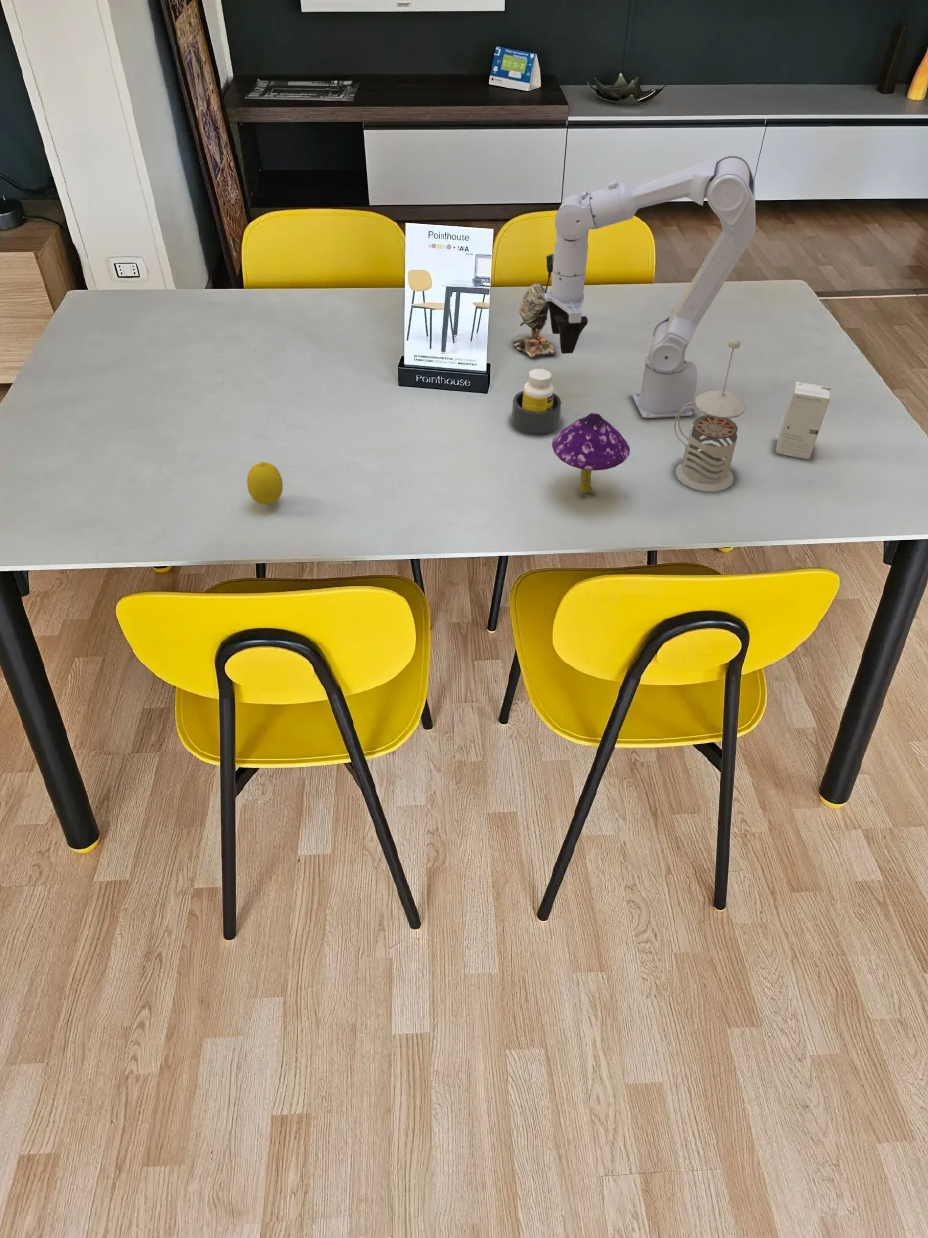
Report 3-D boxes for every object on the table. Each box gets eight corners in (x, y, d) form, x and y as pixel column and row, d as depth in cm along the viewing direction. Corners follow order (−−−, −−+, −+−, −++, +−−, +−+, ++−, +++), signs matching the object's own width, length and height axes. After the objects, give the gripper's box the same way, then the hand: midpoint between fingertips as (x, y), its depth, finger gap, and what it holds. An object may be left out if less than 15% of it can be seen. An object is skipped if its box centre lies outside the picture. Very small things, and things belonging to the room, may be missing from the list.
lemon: (252, 495, 155) (245, 453, 150) (286, 493, 156) (280, 452, 150) (249, 515, 151) (242, 473, 146) (284, 514, 152) (278, 472, 146)
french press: (721, 498, 157) (755, 360, 140) (656, 476, 161) (682, 339, 144) (741, 470, 163) (777, 334, 146) (678, 449, 167) (705, 315, 150)
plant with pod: (545, 332, 199) (553, 237, 185) (558, 358, 191) (568, 260, 177) (508, 335, 198) (512, 239, 184) (519, 361, 190) (525, 263, 176)
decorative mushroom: (634, 508, 154) (648, 428, 144) (563, 520, 152) (572, 440, 141) (605, 466, 163) (616, 388, 153) (536, 477, 160) (543, 398, 150)
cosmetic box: (775, 454, 167) (792, 392, 158) (776, 441, 170) (794, 380, 162) (811, 460, 165) (830, 399, 157) (812, 447, 169) (831, 386, 160)
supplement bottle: (549, 432, 170) (554, 383, 163) (519, 429, 170) (522, 380, 164) (552, 416, 174) (556, 367, 167) (522, 413, 174) (526, 365, 167)
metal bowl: (553, 409, 177) (555, 387, 174) (563, 434, 170) (565, 412, 167) (508, 411, 176) (509, 390, 173) (516, 436, 169) (517, 414, 166)
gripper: (538, 254, 169) (533, 325, 179) (555, 288, 159) (549, 362, 168) (576, 252, 170) (569, 323, 179) (596, 286, 160) (587, 360, 169)
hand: (562, 342), depth 174 cm, fingers open, 7 cm apart
